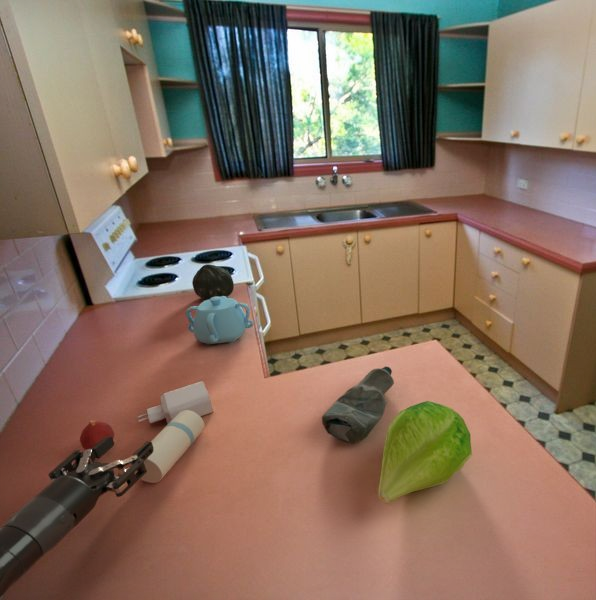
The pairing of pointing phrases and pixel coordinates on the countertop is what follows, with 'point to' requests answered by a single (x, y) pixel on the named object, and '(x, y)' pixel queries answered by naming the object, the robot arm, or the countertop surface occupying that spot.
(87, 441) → the onion
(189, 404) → the charger
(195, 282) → the squash
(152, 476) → the paper towel roll
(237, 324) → the decorative pot
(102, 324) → the countertop surface
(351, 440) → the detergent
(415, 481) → the lettuce
